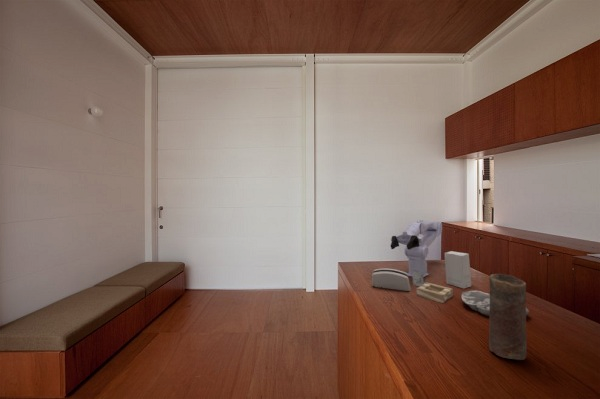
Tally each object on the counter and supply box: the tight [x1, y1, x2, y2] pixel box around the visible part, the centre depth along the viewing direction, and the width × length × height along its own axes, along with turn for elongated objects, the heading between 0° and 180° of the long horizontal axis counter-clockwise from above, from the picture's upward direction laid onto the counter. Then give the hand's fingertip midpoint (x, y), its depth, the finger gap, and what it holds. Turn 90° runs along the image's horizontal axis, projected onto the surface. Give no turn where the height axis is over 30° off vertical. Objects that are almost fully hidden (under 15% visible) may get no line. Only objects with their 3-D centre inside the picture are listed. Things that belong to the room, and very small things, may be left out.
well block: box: [416, 282, 454, 304], centre depth 100 cm, size 10×10×3 cm
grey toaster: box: [371, 267, 412, 292], centre depth 110 cm, size 17×5×10 cm, turn 64°
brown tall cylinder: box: [488, 273, 527, 361], centre depth 63 cm, size 8×7×20 cm
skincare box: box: [444, 250, 472, 289], centre depth 111 cm, size 8×6×15 cm
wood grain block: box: [412, 270, 427, 287], centre depth 113 cm, size 4×4×6 cm
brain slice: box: [460, 290, 530, 317], centre depth 88 cm, size 20×17×3 cm
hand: (399, 247), depth 112 cm, fingers open, 7 cm apart
